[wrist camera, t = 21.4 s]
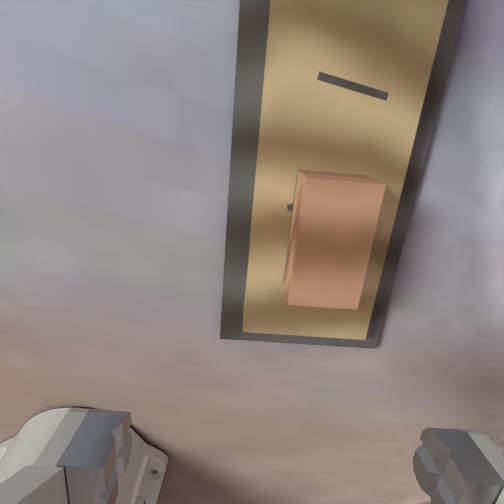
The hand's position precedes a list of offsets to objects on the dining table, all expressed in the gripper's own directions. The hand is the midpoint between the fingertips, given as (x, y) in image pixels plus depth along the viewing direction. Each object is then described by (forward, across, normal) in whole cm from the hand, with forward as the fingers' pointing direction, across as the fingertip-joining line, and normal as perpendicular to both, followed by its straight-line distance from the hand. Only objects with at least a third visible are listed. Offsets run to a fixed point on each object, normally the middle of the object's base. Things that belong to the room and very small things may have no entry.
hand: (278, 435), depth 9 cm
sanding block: (+18, +5, +1) cm, 18 cm away
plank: (+20, +5, +6) cm, 21 cm away
